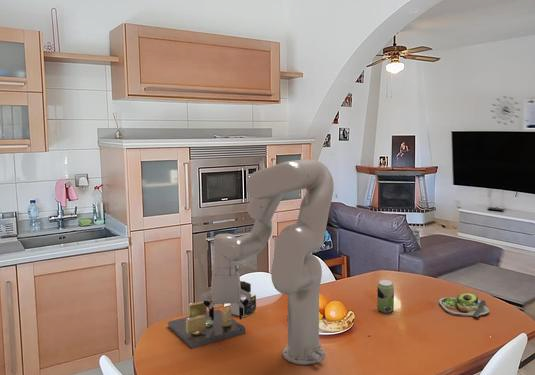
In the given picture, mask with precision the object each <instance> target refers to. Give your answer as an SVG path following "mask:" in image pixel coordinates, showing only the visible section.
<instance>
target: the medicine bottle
mask: <svg viewBox="0 0 535 375" xmlns="http://www.w3.org/2000/svg"><path fill="white" fill-rule="evenodd" d="M240 286H241V289H242V290H244V291H246V292H248V293H250V294H251V298H250V300H249V301H248V303H247V304H246V305H245V306H244V308H243V315H244V316H242V318H247V317H249V316H251V315H253V314H254V313H257V294H256V293H252V287H251V286H252V283H251V282H250V281H247V280H240ZM245 299H246V296H244V295H242V294H241V300H242V301H244V300H245ZM229 305H230V306H229V307H231V315H233V316H238V317H239V305H238V304H237V303H229Z"/></svg>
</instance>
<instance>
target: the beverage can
mask: <svg viewBox="0 0 535 375" xmlns="http://www.w3.org/2000/svg"><path fill="white" fill-rule="evenodd" d="M376 292H377V299H376V300H377V304H376V305H377V307H376V308H377V310H378V311H380V312H381V313H386V314H387V313H391V312H392V311H394V307H395V306H394V305H395V304H394V303H395V302H394V301H395V285H394V283H393V281H392V280H390V279H380V280H379V281H378V284H377V290H376Z"/></svg>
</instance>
